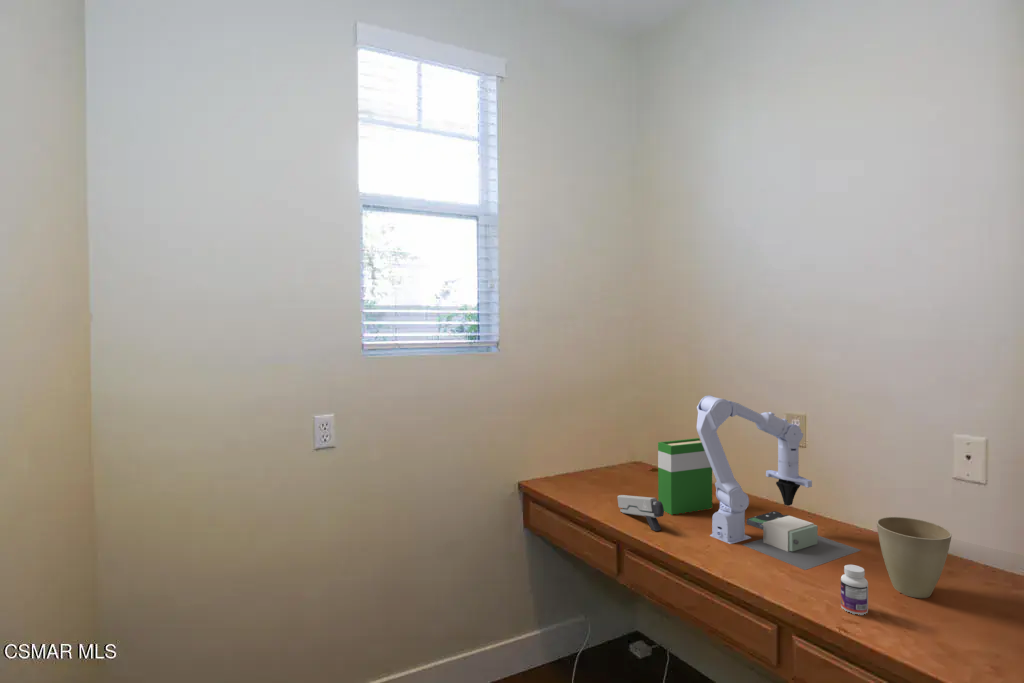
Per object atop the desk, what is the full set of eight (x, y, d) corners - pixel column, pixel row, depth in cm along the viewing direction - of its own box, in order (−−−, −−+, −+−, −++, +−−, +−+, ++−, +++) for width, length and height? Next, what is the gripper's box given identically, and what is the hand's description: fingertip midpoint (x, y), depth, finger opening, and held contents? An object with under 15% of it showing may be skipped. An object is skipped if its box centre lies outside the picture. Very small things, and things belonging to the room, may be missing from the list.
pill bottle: (842, 601, 133) (843, 561, 133) (869, 608, 130) (869, 567, 129) (838, 610, 129) (838, 569, 129) (866, 618, 125) (866, 575, 125)
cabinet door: (794, 552, 160) (794, 533, 160) (788, 550, 161) (788, 531, 161) (821, 544, 166) (821, 526, 165) (815, 542, 167) (815, 524, 167)
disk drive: (774, 518, 192) (745, 526, 184) (774, 510, 192) (745, 518, 184) (803, 527, 183) (774, 536, 175) (803, 519, 183) (774, 527, 175)
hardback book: (698, 502, 208) (698, 438, 207) (712, 508, 201) (712, 441, 200) (658, 508, 201) (658, 442, 201) (671, 515, 194) (671, 446, 194)
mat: (805, 571, 149) (805, 570, 149) (741, 546, 167) (741, 544, 167) (861, 551, 162) (861, 550, 162) (797, 529, 179) (797, 528, 179)
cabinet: (787, 551, 161) (787, 530, 161) (763, 542, 168) (763, 522, 168) (813, 543, 167) (813, 523, 167) (788, 534, 174) (789, 515, 174)
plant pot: (869, 591, 138) (869, 527, 137) (884, 572, 148) (884, 512, 148) (945, 613, 127) (946, 543, 127) (955, 591, 138) (956, 526, 137)
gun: (661, 532, 175) (657, 499, 177) (619, 524, 198) (616, 495, 200) (668, 531, 176) (664, 498, 178) (625, 523, 199) (622, 494, 201)
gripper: (818, 464, 170) (818, 509, 171) (776, 455, 183) (776, 496, 183) (803, 467, 167) (803, 513, 167) (761, 457, 180) (761, 499, 180)
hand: (788, 504), depth 175 cm, fingers closed
